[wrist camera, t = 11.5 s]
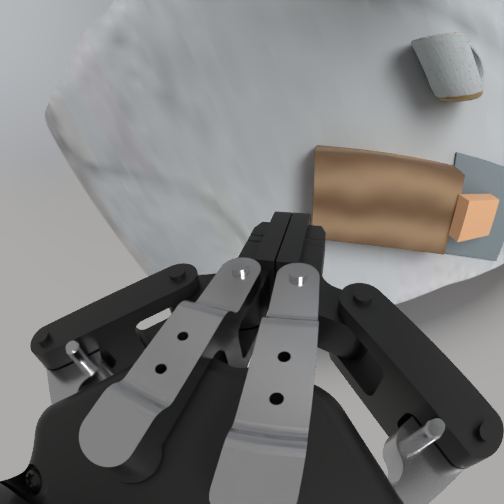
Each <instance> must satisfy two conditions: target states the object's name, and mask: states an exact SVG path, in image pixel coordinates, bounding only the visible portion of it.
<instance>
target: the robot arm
mask: <svg viewBox="0 0 504 504" xmlns="http://www.w3.org/2000/svg"><path fill="white" fill-rule="evenodd" d="M325 238H326V232H325V231H324V229H323V228H322V226H315V225H311V215H310V214H307V213H291V212H275V213H274V215H273V217H272V219H271V221H270V222H262V223H260V224H259V225H258V226H256V227H255V228H254V230H253V231H252V233H251V236H250V237H249V239H248V241H247V242H246V244H245V246H244V248H243V249H242V251H241V253H240V255H239V257H238V258H235V259H232V260H229V261H227V262H226V263H225V264H223V265H222V267H221V268H220V269H219V271H218V272H217V273H216V274H208V275H198V273H197V270H196V268H195V267H194V266H192V265H190V264H176V265H173V266H171V267H168V268H166V269H164V270H162V271H160V272H157V273H155V274H153V275H151V276H149V277H147V278H144V279H142V280H140V281H138V282H136V283H134V284H132V285H129V286H127V287H125V288H123V289H121V290H119V291H117V292H114V293H112V294H110V295H108V296H106V297H104V298H102V299H100V300H98V301H96V302H93V303H91V304H89V305H88V306H85V307H83V308H81V309H79V310H77V311H75V312H73V313H71V314H69V315H67V316H65V317H63V318H60V319H58V320H57V321H54V322H52V323H50V324H48V325H46V326H44V327H42V328H41V329H40V330H39V331H37V333H36V334H35V335H34V337H33V338H32V341H31V351H32V352H33V353H34V354H35V355H36V357H37V358H38V359H39V360H40V361H41V362H42V363H43V365H44V367H45V368H46V369H47V374H48V382H49V390H50V397H51V402H52V405H51V406H50V407H48V408H47V409H46V410H45V411H44V412H43V414H42V415H41V417H40V418H39V420H38V423H37V426H36V431H35V440H34V447H33V452H32V456H31V460H30V464H29V465H28V467H27V469H26V470H25V471H24V472H23V473H21V474H20V475H18V476H15V477H13V478H10V479H8V480H4V481H0V504H428V503H429V502H430V501H432V500H433V499H434V498H435V497H436V496H437V495H438V494H439V493H440V492H442V491H443V490H444V489H445V488H446V487H447V486H448V485H449V484H450V483H451V482H452V481H453V480H454V479H455V478H456V477H457V476H458V475H459V474H460V473H461V472H462V471H463V470H464V469H466V468H468V467H470V466H472V465H474V464H476V463H478V462H480V461H482V460H484V459H486V458H488V457H489V456H491V455H492V454H494V453H495V452H496V451H497V449H498V448H499V446H500V444H501V442H502V438H503V423H502V420H501V418H500V416H499V415H498V414H497V412H496V411H495V410H494V409H493V408H492V407H491V405H490V404H489V403H488V402H487V401H486V399H484V397H483V396H482V395H481V394H480V393H479V391H478V390H477V389H476V388H475V387H474V386H473V385H472V384H471V382H470V381H469V380H468V379H467V378H466V377H465V376H464V375H463V374H462V373H461V372H460V370H459V369H458V368H457V367H456V366H455V365H454V364H453V363H452V362H451V361H450V360H449V359H448V358H447V357H446V355H445V354H444V353H442V351H441V350H440V349H439V348H438V347H437V346H436V345H435V344H434V343H433V342H432V341H431V340H430V339H429V338H428V337H427V336H426V335H425V334H424V333H423V332H422V331H421V330H420V329H419V328H418V327H417V326H416V325H415V324H414V323H413V322H412V321H411V320H410V319H409V318H408V317H406V315H404V314H403V313H402V312H401V311H400V310H399V309H398V308H397V307H396V306H395V305H394V304H393V303H392V302H391V301H390V300H389V299H388V298H387V297H386V296H384V295H383V294H382V293H381V292H380V291H379V290H378V289H377V288H375V287H373V286H371V285H368V284H364V283H355V284H351V285H348V286H346V287H345V288H344V289H343V290H341V289H338V288H336V287H333V286H331V285H330V284H328V283H327V282H326V281H325V280H324V279H323V277H322V273H323V265H324V253H325ZM167 308H170V311H171V313H172V314H171V316H170V317H169V318H168V319H166V320H163V321H162V322H159V323H157V324H155V325H153V326H151V327H150V328H147V329H145V330H139V329H137V328H136V325H137V324H138V323H139V322H140V321H142V320H144V319H146V318H149V317H151V316H153V315H155V314H156V313H159V312H161V311H163V310H165V309H167ZM267 312H268V314H267ZM266 315H267V316H266ZM317 347H318V348H321V349H323V350H326V351H328V352H329V355H330V357H331V360H332V361H333V362H334V363H335V365H336V366H337V368H338V369H339V370H340V372H341V373H342V375H343V376H344V377H345V378H346V380H347V381H348V383H349V384H350V385H351V387H352V388H353V389H354V391H355V392H356V393H357V395H358V396H359V397H360V399H361V400H362V401H363V403H364V404H365V405H366V407H367V408H368V409H369V411H370V412H371V414H372V415H373V416H374V418H375V419H376V420H377V421H378V423H379V424H380V426H381V427H382V428H383V430H384V431H385V432H386V434H387V435H388V436H389V438H388V439H387V441H386V442H385V445H384V448H383V458H384V461H385V463H386V465H387V468H388V478H387V477H386V475H385V474H384V472H383V471H382V469H381V468H380V466H379V464H378V463H377V461H376V460H375V458H374V457H373V455H372V453H371V452H370V450H369V449H368V447H367V446H366V444H365V443H364V441H363V440H362V438H361V437H360V435H359V433H358V432H357V430H356V429H355V427H354V425H353V424H352V422H351V421H350V419H349V418H348V416H347V414H346V413H345V411H344V410H343V408H342V407H341V405H340V404H339V403H338V402H337V401H336V400H335V398H333V397H332V396H331V395H330V394H329V393H327V392H326V391H324V390H323V389H322V388H320V387H318V386H316V385H314V379H315V368H316V356H317ZM251 356H252V358H251ZM250 359H251V362H250V365H249V368H247V366H248V363H249V361H250Z"/></svg>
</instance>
